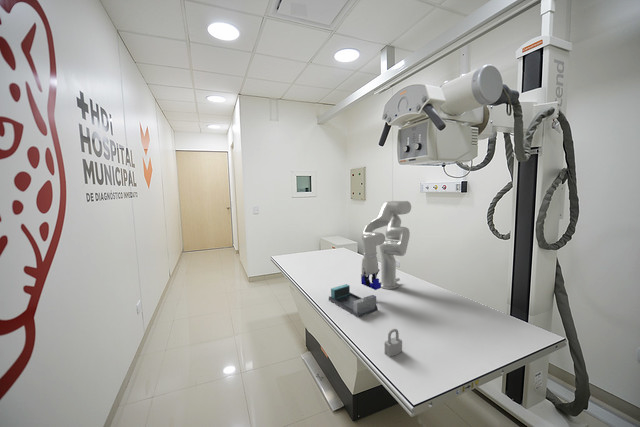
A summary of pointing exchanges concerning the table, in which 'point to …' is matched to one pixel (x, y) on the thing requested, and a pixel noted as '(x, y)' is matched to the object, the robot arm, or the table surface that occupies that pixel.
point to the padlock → (393, 344)
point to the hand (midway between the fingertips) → (370, 284)
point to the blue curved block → (374, 285)
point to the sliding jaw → (340, 291)
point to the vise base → (356, 304)
